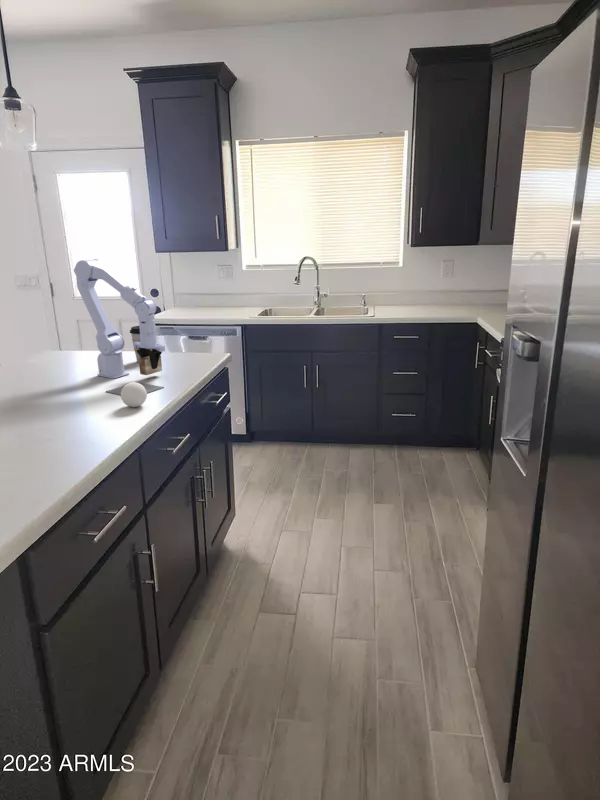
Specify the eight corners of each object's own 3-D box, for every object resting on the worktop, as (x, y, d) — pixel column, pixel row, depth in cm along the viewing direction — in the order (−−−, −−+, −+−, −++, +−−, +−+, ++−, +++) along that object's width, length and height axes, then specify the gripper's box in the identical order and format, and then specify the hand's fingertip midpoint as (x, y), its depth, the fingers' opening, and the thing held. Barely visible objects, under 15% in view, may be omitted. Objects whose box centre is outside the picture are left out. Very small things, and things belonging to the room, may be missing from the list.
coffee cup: (145, 358, 232) (142, 324, 227) (160, 361, 227) (157, 326, 222) (128, 362, 224) (124, 327, 220) (142, 365, 219) (138, 329, 215)
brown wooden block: (140, 374, 198) (138, 358, 196) (155, 369, 204) (154, 354, 203) (146, 375, 196) (145, 359, 194) (162, 370, 203) (160, 355, 201)
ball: (134, 412, 163) (132, 387, 160) (116, 408, 166) (113, 384, 164) (153, 405, 169) (151, 381, 167) (135, 401, 173) (133, 378, 171)
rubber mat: (105, 392, 183) (105, 391, 183) (136, 382, 194) (136, 381, 194) (134, 398, 176) (133, 397, 176) (163, 387, 188) (163, 387, 188)
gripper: (125, 332, 196) (129, 367, 200) (154, 336, 189) (156, 372, 193) (140, 329, 202) (143, 363, 206) (167, 333, 195) (170, 368, 199)
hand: (150, 367), depth 200 cm, fingers closed on brown wooden block, 3 cm apart
